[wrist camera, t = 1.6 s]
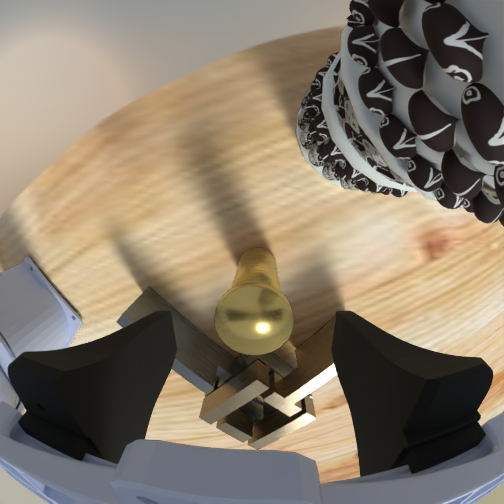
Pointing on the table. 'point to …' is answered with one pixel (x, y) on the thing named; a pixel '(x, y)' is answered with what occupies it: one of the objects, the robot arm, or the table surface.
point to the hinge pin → (254, 307)
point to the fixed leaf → (204, 354)
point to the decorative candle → (413, 104)
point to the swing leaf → (273, 394)
